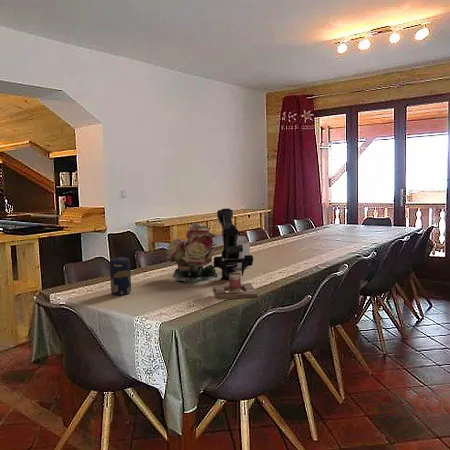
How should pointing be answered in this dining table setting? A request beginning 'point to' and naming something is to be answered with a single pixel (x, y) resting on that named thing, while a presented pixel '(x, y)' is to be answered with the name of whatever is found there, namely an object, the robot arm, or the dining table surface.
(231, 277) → the red and beige cylinder
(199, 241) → the rose bouquet
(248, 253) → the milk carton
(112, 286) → the dark blue canister
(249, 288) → the brown flat piece
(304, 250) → the dining table surface
